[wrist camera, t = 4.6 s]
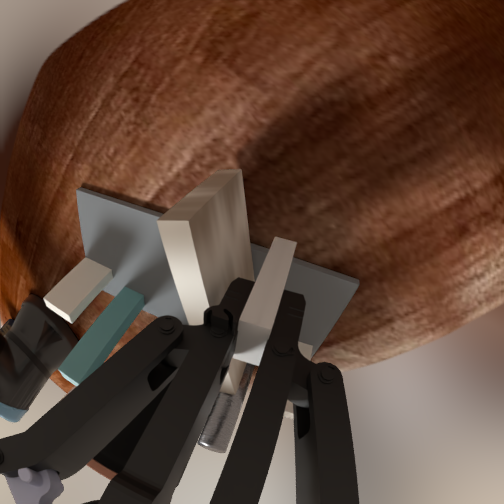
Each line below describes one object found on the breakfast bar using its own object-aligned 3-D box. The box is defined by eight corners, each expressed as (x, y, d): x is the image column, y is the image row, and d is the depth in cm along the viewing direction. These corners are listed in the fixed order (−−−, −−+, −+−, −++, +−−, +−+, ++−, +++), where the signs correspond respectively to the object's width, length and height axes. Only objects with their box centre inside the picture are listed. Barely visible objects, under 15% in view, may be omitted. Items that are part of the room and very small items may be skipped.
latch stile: (129, 293, 27) (63, 377, 18) (127, 282, 26) (58, 368, 17) (147, 301, 27) (84, 391, 17) (146, 291, 26) (78, 383, 16)
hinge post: (243, 329, 25) (196, 445, 16) (247, 316, 24) (198, 439, 14) (263, 336, 25) (223, 454, 15) (269, 323, 24) (227, 450, 14)
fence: (87, 265, 26) (46, 306, 20) (85, 257, 25) (43, 297, 20) (307, 352, 24) (295, 419, 18) (312, 345, 23) (300, 414, 18)
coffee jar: (138, 317, 29) (54, 442, 15) (224, 344, 27) (155, 503, 13) (155, 365, 35) (98, 467, 21) (225, 389, 33) (178, 506, 19)
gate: (259, 324, 23) (235, 395, 17) (242, 322, 23) (215, 390, 17) (241, 169, 16) (188, 220, 10) (218, 169, 16) (156, 220, 11)
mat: (94, 281, 28) (91, 284, 28) (80, 187, 21) (76, 189, 21) (303, 364, 26) (303, 369, 26) (359, 279, 19) (359, 284, 19)
